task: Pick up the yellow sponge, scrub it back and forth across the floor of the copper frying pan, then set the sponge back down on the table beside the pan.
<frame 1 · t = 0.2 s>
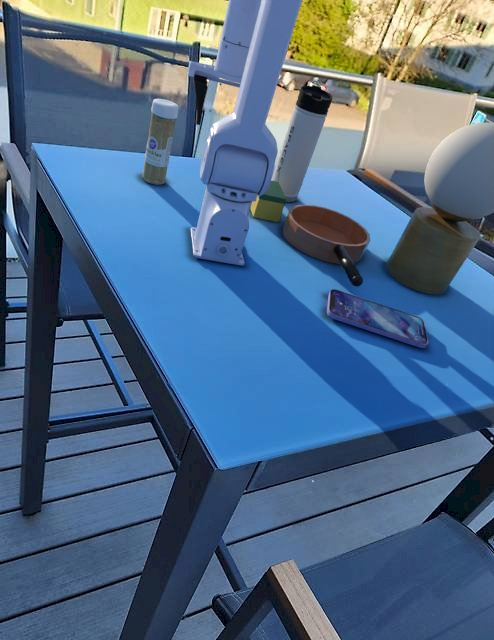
hand: (217, 128, 92), 10 cm above the table, tool pointing down, fingers open, 7 cm apart
smartphone: (374, 321, 72), on the table
pan: (322, 242, 89), on the table
sponge: (262, 210, 94), on the table
travel mug: (281, 196, 102), on the table
sprinkles bottle: (153, 181, 92), on the table
lamp: (414, 273, 89), on the table
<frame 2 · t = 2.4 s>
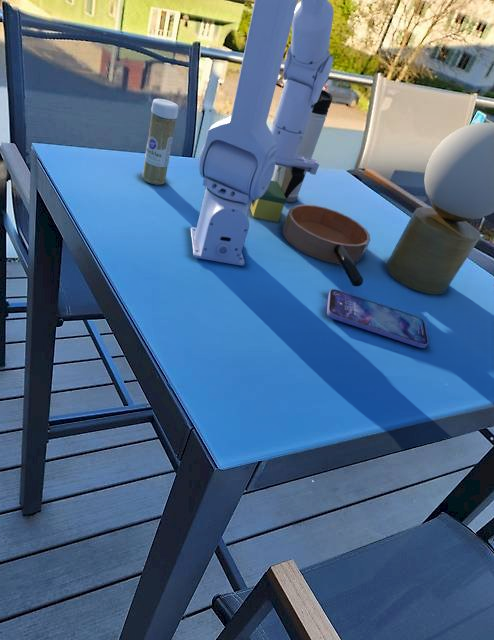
hand: (264, 203, 93), 1 cm above the table, tool pointing down, fingers closed on sponge, 5 cm apart
sponge: (262, 210, 94), on the table, touching gripper
everything else where it was.
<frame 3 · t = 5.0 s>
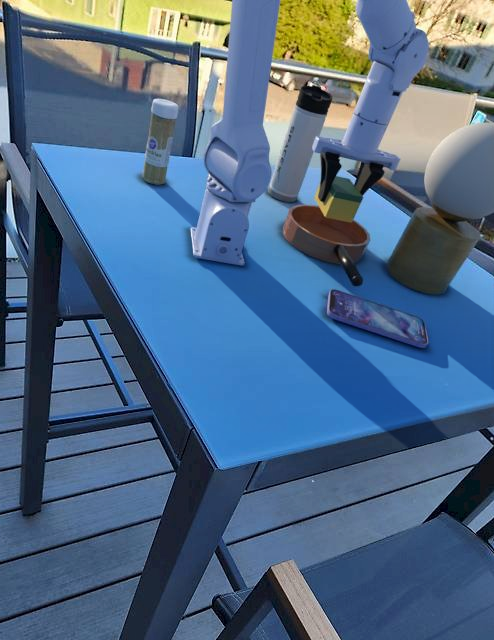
hand: (335, 202, 85), 7 cm above the table, tool pointing down, fingers closed on sponge, 5 cm apart
sponge: (332, 210, 85), point 6 cm above the table, touching gripper
everything else where it was.
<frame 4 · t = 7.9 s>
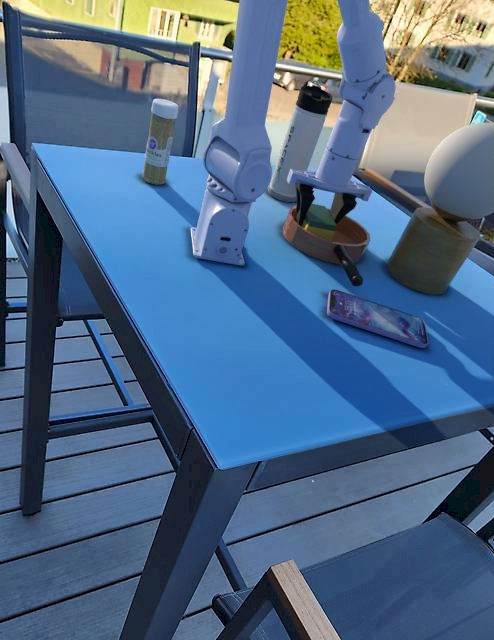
hand: (311, 230, 87), 2 cm above the table, tool pointing down, fingers closed on sponge, 5 cm apart
sponge: (308, 236, 88), resting on pan, touching gripper
everything else where it was.
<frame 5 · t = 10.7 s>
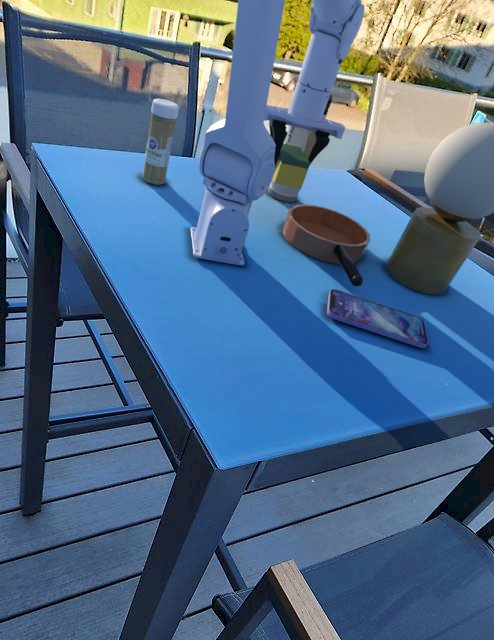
hand: (286, 171, 87), 8 cm above the table, tool pointing down, fingers closed on sponge, 5 cm apart
sponge: (283, 177, 88), point 7 cm above the table, touching gripper
everything else where it was.
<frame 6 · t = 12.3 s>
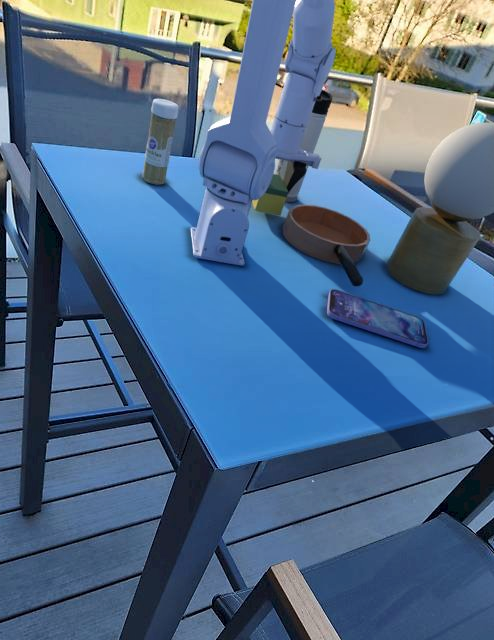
hand: (266, 198, 92), 2 cm above the table, tool pointing down, fingers closed on sponge, 5 cm apart
sponge: (264, 204, 93), point 1 cm above the table, touching gripper
everything else where it was.
when the fingers open (1 cm above the table, at t = 13.2 s): sponge stays where it is, on the table.
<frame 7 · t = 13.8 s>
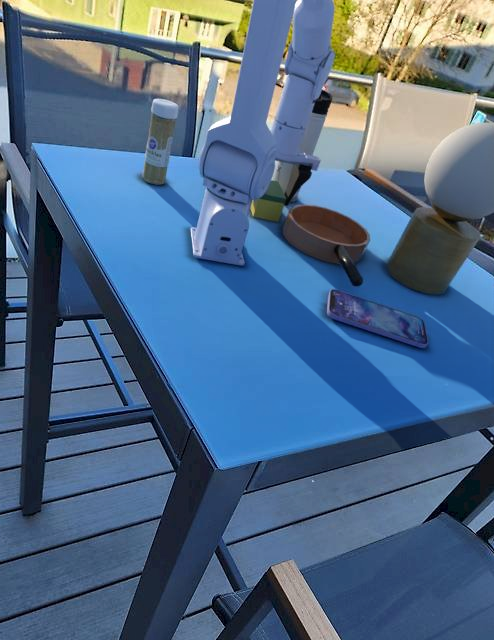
hand: (265, 200, 92), 2 cm above the table, tool pointing down, fingers open, 7 cm apart
sponge: (262, 210, 94), on the table
everything else where it was.
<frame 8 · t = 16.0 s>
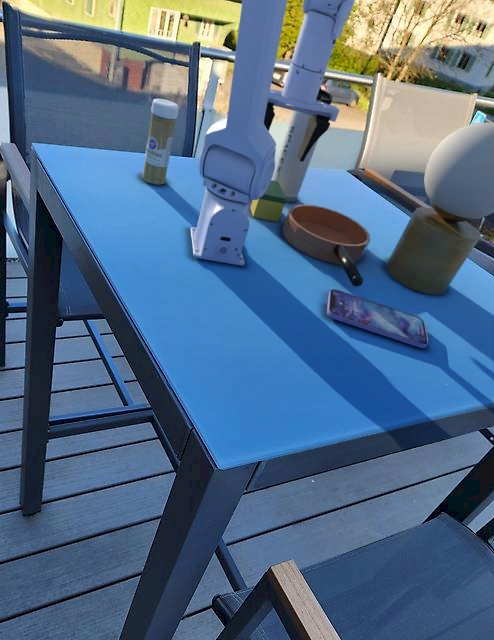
hand: (280, 155, 87), 10 cm above the table, tool pointing down, fingers open, 7 cm apart
nothing on the table moved.
at the end: sponge inside the target area (0.1 cm from its centre), on the table; the gripper is holding nothing; sponge tilted 0° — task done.
